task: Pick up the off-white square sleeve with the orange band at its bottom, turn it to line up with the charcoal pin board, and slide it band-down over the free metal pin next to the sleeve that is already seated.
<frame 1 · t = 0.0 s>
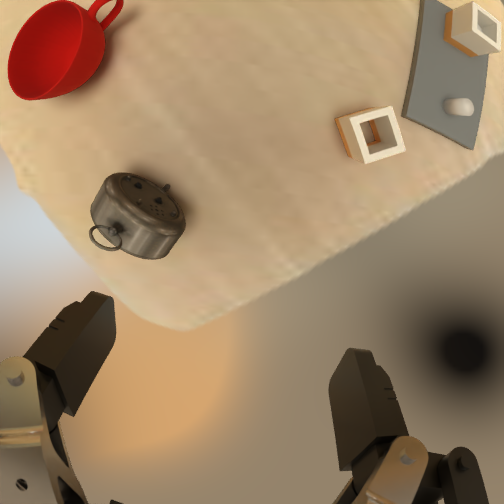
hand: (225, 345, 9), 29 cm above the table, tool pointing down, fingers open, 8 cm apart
alarm clock: (160, 196, 38), on the table
ceramic cup: (95, 48, 29), on the table
sleeve: (359, 131, 33), on the table
pin board: (449, 69, 27), on the table
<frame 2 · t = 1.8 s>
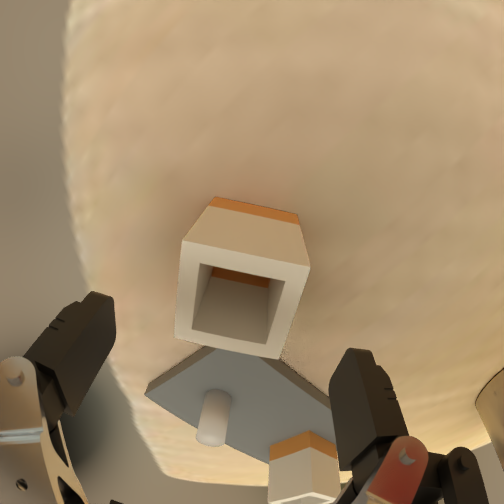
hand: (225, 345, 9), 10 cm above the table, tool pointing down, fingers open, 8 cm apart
sleeve: (247, 243, 19), on the table
pin board: (266, 413, 26), on the table
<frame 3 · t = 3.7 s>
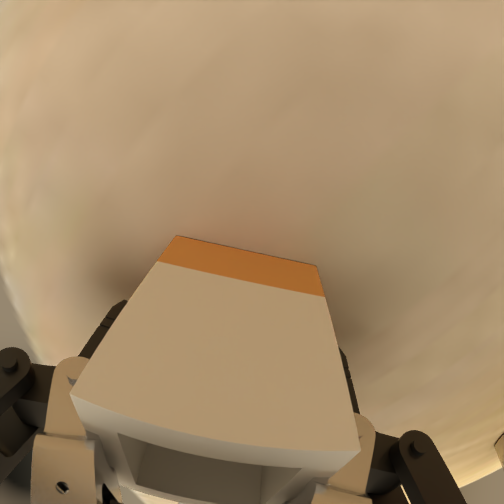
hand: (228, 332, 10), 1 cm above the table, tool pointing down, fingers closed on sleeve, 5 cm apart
sleeve: (233, 308, 11), on the table, touching gripper
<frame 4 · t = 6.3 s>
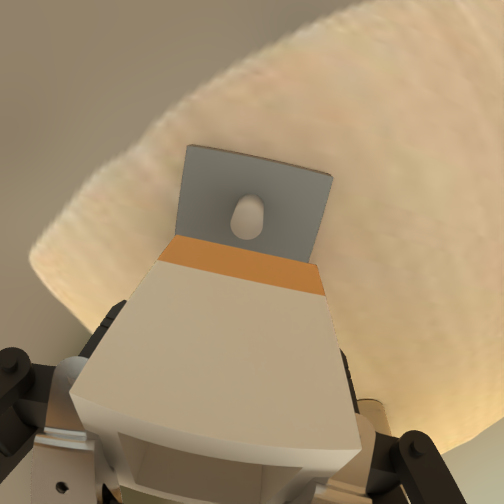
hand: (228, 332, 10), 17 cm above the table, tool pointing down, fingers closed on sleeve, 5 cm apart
sleeve: (233, 307, 11), point 16 cm above the table, touching gripper
pin board: (238, 262, 28), on the table
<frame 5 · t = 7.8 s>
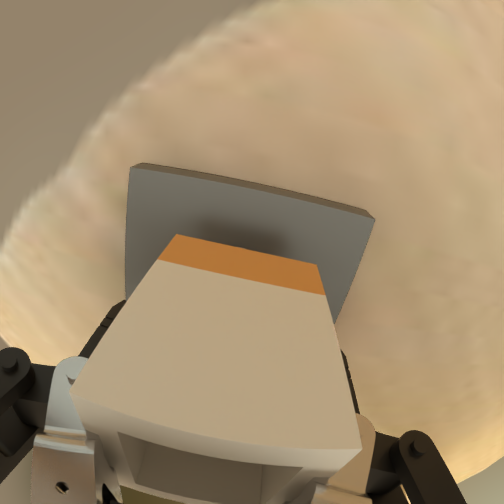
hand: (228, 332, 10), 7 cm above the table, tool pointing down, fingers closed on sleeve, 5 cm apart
sleeve: (233, 307, 11), point 5 cm above the table, touching gripper
pin board: (222, 336, 19), on the table
when the fingers open (4 cm above the table, at t = 9.2 s): sleeve stays where it is, resting on pin board.
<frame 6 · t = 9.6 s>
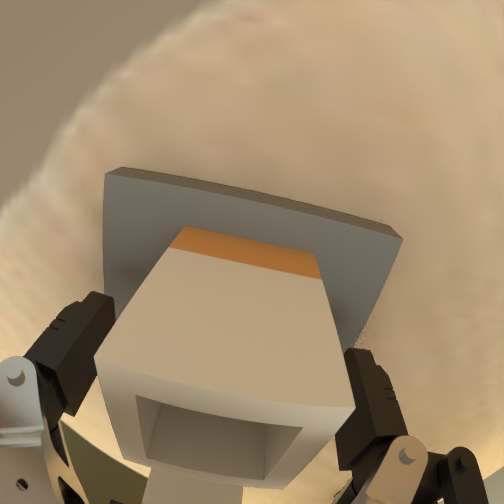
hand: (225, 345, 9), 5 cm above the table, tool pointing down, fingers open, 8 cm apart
sleeve: (237, 294, 12), point 1 cm above the table, touching pin board
pin board: (219, 365, 16), on the table
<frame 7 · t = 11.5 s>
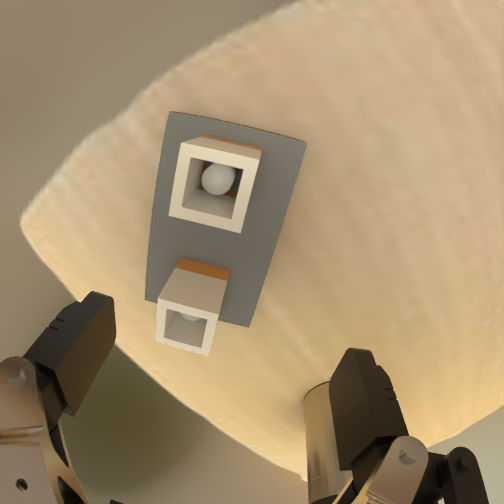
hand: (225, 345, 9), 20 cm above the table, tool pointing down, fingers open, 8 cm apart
sleeve: (226, 169, 25), point 1 cm above the table, touching pin board
pin board: (214, 226, 29), on the table
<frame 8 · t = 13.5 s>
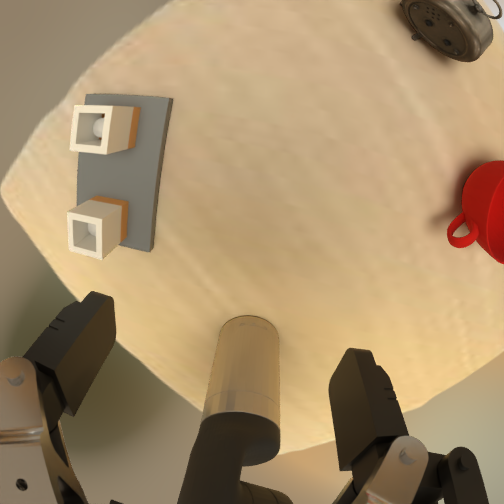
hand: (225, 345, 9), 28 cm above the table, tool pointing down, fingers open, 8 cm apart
alarm clock: (420, 32, 25), on the table
ceramic cup: (467, 198, 34), on the table
sleeve: (119, 125, 31), point 1 cm above the table, touching pin board
pin board: (119, 170, 35), on the table
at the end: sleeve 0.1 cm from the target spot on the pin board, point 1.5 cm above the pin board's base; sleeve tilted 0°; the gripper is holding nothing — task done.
